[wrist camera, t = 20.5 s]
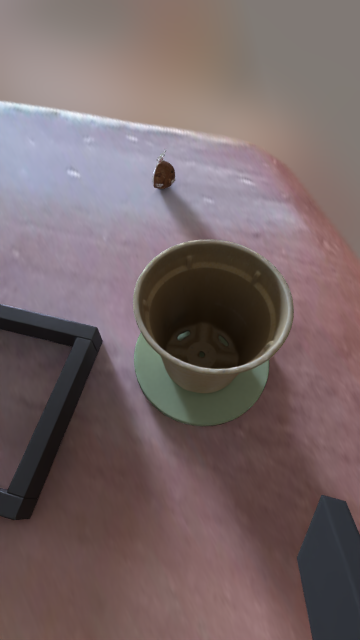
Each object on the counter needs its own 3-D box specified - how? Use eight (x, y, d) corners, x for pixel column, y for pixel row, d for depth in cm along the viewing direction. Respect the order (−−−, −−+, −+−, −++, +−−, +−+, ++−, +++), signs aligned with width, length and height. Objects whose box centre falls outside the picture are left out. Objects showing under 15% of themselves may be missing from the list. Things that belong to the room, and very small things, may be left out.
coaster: (174, 454, 24) (174, 453, 23) (113, 334, 29) (112, 330, 28) (294, 384, 27) (297, 381, 26) (221, 285, 31) (222, 281, 31)
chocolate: (166, 198, 37) (166, 166, 33) (149, 191, 37) (147, 159, 34) (179, 183, 38) (180, 150, 35) (163, 176, 39) (162, 143, 35)
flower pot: (178, 291, 30) (181, 219, 23) (276, 336, 28) (314, 273, 21) (120, 377, 26) (100, 324, 19) (230, 438, 24) (257, 406, 16)
